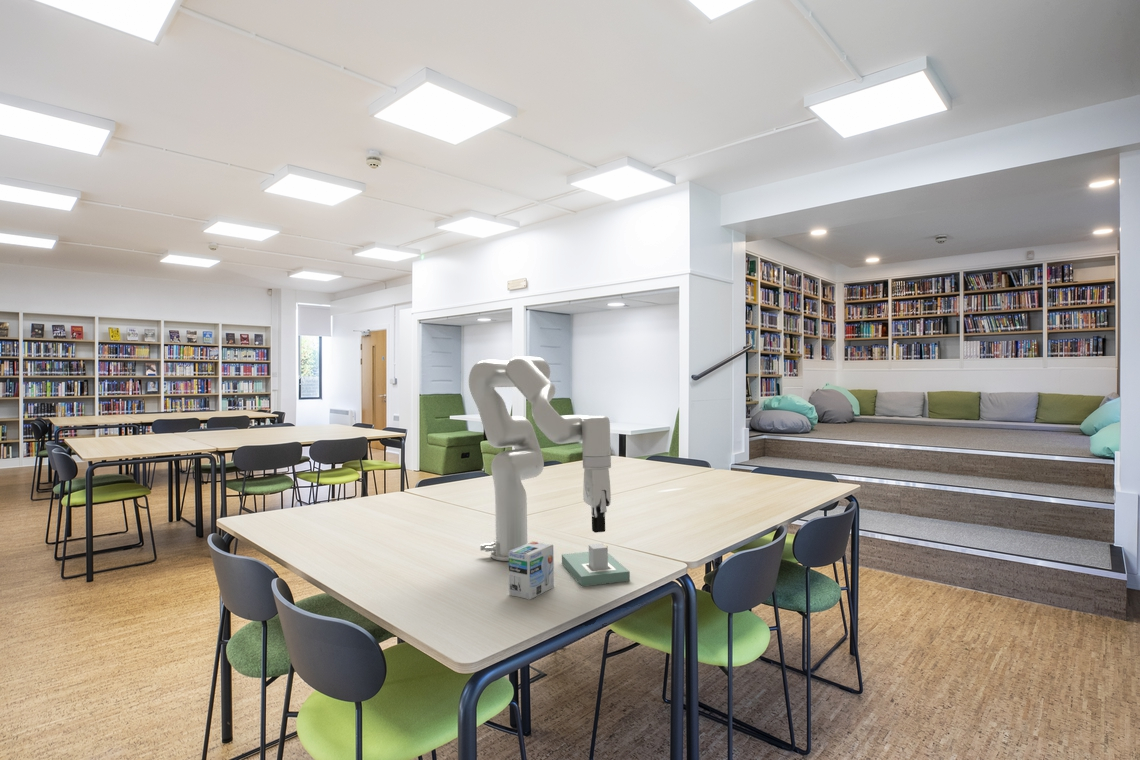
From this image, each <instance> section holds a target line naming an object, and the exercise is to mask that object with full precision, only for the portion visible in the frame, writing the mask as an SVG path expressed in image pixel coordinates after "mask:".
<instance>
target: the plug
mask: <svg viewBox="0 0 1140 760" xmlns="http://www.w3.org/2000/svg"><path fill="white" fill-rule="evenodd" d="M588 552H589V569H590V570H591V571H597V570H606V569H608V553H609V549H608V545H607V544H604V543H595V544H588Z"/></svg>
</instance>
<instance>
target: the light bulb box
mask: <svg viewBox="0 0 1140 760" xmlns="http://www.w3.org/2000/svg"><path fill="white" fill-rule="evenodd" d="M554 562H555V561H554V545H553V544H551V543H544V542H538V541H533V540H532V541H531V542H528V544H525V545H523V546H520V547H518V548H516V549H513V550H510V551H509V561H508V591H509V592H508V594H509V596H514V597H518V598H522V599H526V600H532V599H534V598H535V597H538V596H540V595H541V594H543V593H545V592H547V591H549V590H551V589H553V588H554V587H555V583H554V582H555V571H554V570H555V569H554V567H555V563H554Z"/></svg>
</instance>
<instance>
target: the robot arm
mask: <svg viewBox="0 0 1140 760" xmlns="http://www.w3.org/2000/svg"><path fill="white" fill-rule="evenodd" d="M550 377H551V368H550V365H549V363H548V362H547V361H546V360H545V359H544V358H542V357H539V356H527V355H525V356H523V355H521V356H520V355H519V356H515V357H513V358H511V359H509V360H507V359H506V360H501V359H485V360H480V361H478V362H476V363H475V364H473V366H472V367H471V369H470V372H469V375H468V387H469V392H470V394H471V397H472V399H473V401H474V403H475V405H476V408H477V409H478V413H479V417H480V421H481V423H482V427H483V430H484V433H485V436H486V437H485V438H486V439H487V441H488V443H489V445H490V446H491V447H493V448H494V449H501V448H502V449H504V448H509V447H510V448H512V447H513V448H514V449H508V450H503V451H501V452H499V453H497V454H496V455H494V457H493V459H492V460H491V464H490V465H491V467H490V469H491V475H492V480H493V481H492V482H493V485H494V504H495V505H494V506H495V507H494V508H495V509H494V510H495V512H494V513H495V538H494V539H493V541H492V542H490V543H480V546H479V551H480V552H482V551H484V552H487V553H488V552H490V557H491V558H492V559H494V560H496V561H501V562H509V551H510V550H513V549H516V548H518V547H520V546H523V545H525V544H528V543H529V542H528V498H527V492H526V489H525V487H524V485H523V483H522V481H524V480H529V479H534V478H537V477H538V476H540V474H542V472H543V470H544V467H545V465H544V464H545V462H544V461H545V460H544V456H543V452H542V450H541V446H540V443H539V441H538V438H537V435H536V431H535V429H534V427H533V424H532V423H531V422H530V420H529V419H528V418H526V417H524V416H521V415H510V413H509V412H508V409H507V406H506V402H505V400H504V398H503V397H502V396H501V395H500V393H498V391H496V389H495V388H515V387H516V389H517V390H518V391H519V392H520V393H521V394H522V395H523V397H524V398H525V399H526V400H527V401H528V402H529V403H530V405H531V415H532V419H533V421H534V423H535V425H536V427H537V428H538V429H539V430H540V431H541V433H542V434H543V435H544V436H545V437H546V438H547V439H548V440H549V441H551V442H552V443H555V444H558V445H563V444H564V445H565V444H570V443H580V442H582V468H583V469H584V470H583V489H582V490H583V493H582V494H583V497H582V499H583V501H584V503H585V504H586V505H588V506H589V507H590V512H591V514H590V515H591V531H592V532H593V533H603V532H606V513H607V510H608V509H607V507H609V506H610V505H611V503H612V497H611V496H612V494H611V493H612V492H611V477H610V470H609V469H611V468H612V450H611V424H610V423H611V422H610V421H611V420H610V418H609V417H608V416H606V415H584V414H567V415H566V414H565V415H560V414H559V412H558V411H557V410H555V409H554V407H553V406H552V405H551V404H550V402H551V401H552V399H553V398H554V396H555V393H556V386H555V385H554V384H553V382H551V381H550Z"/></svg>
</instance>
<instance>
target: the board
mask: <svg viewBox="0 0 1140 760" xmlns="http://www.w3.org/2000/svg"><path fill="white" fill-rule="evenodd" d="M561 564H562V565H563V567H564V568H566V570H567V571H568V573H569V574H570V575H571V576H572V577H573V578H574V579H575V581H576V582H577V583H578V585H580V586H582V587H589V585H591V586H597V584H600V585H606V583H609V584H614V583H613V582H618V583H622V582H621V581H626V582H630V581H631V576H630V575H631V572H630V570H628V569H627V568H626V567H625V566H624V565H623V564H622V563H620V562H619V561H618V560H617V559H616V558H615V557H613V556H612V555H611V554H610V553H609V552H608V569H606V570H597V571H591V570H590V569H589V551H584V552H574V553H572V552H571V553H564V554H563V553H562V554H561Z"/></svg>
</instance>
